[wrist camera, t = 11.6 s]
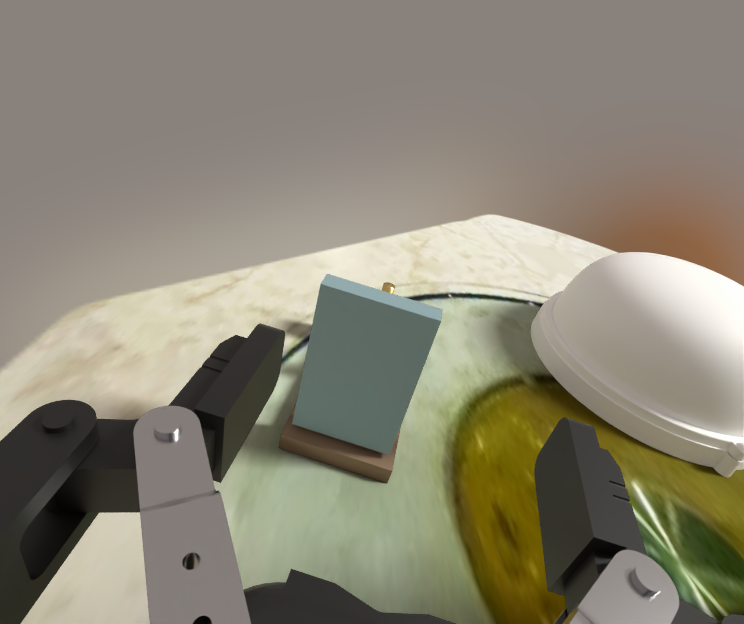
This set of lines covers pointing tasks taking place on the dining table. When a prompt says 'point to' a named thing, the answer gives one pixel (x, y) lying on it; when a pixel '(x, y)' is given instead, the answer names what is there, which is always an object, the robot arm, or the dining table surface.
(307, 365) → the blue-grey rectangular panel
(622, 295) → the dome cover
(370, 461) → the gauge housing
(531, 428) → the dining table surface
